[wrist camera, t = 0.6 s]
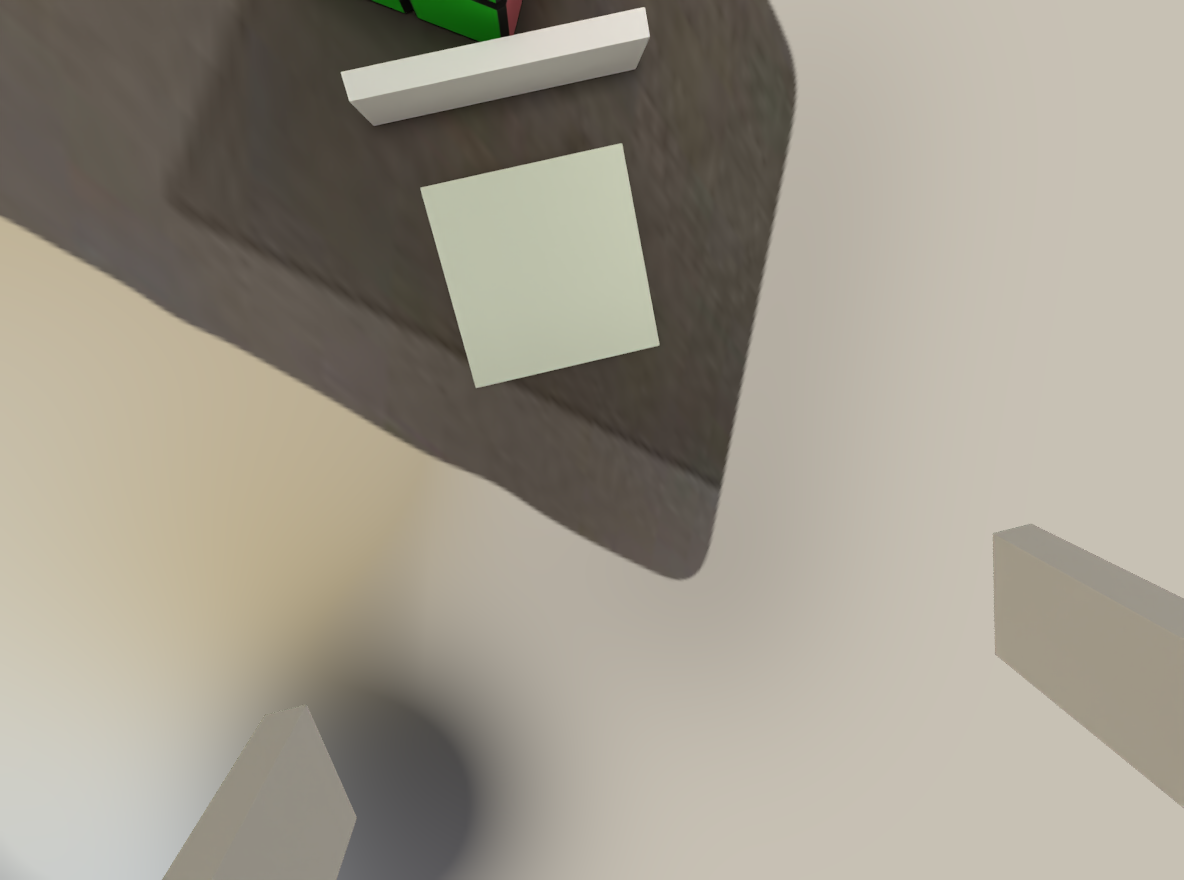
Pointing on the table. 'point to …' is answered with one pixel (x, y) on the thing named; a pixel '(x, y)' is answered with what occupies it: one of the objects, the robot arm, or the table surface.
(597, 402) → the table surface
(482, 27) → the puzzle cube
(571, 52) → the white flat bar
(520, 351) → the pale green square
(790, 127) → the table surface
